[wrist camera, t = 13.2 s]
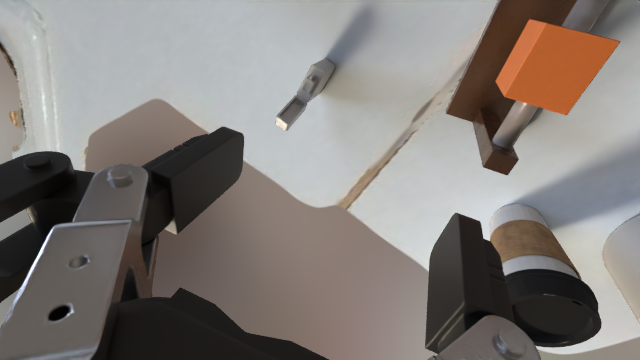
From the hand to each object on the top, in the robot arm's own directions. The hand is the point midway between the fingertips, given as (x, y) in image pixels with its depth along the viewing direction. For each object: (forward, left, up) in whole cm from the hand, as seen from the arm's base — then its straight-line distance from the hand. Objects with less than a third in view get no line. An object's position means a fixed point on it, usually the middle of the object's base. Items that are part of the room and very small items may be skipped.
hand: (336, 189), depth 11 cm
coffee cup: (+20, -15, -28) cm, 38 cm away
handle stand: (+10, +4, -28) cm, 30 cm away
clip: (+10, +4, -22) cm, 24 cm away
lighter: (-10, -6, -28) cm, 31 cm away
